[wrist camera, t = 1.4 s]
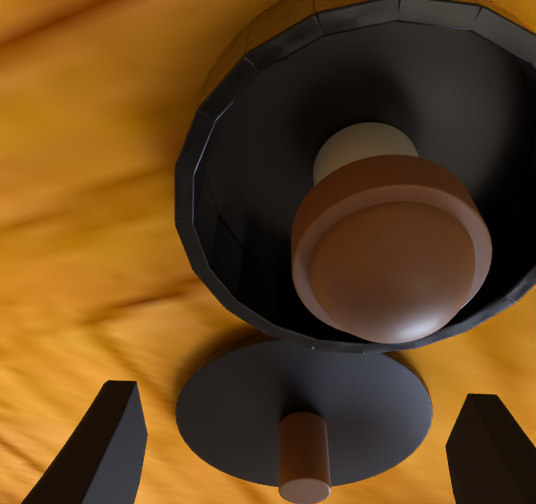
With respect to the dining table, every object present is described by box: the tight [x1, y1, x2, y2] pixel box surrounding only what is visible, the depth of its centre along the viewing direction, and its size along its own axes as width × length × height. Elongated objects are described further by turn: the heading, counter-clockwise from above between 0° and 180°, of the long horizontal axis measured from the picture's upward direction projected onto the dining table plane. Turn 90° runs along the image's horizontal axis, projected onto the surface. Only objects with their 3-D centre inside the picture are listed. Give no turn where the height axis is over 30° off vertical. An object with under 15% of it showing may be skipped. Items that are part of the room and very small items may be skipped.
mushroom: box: [291, 122, 492, 344], centre depth 15 cm, size 5×5×7 cm
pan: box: [174, 0, 536, 354], centre depth 17 cm, size 12×12×4 cm
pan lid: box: [175, 334, 433, 504], centre depth 25 cm, size 13×13×5 cm
